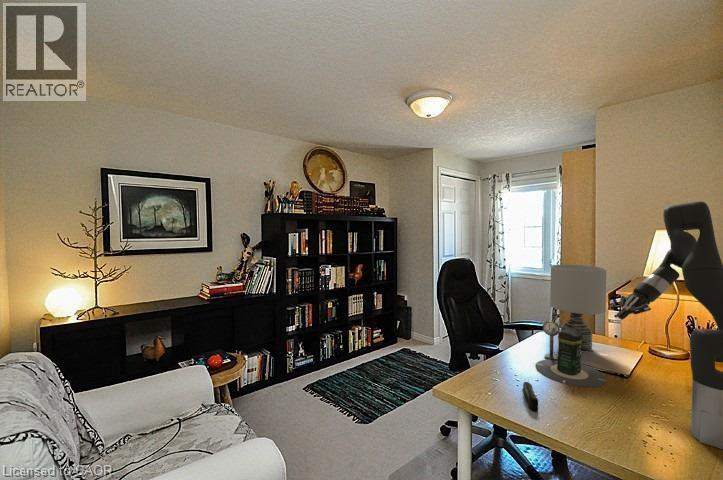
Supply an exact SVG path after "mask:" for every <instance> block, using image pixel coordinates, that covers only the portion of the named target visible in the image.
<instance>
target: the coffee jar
mask: <svg viewBox="0 0 723 480" xmlns="http://www.w3.org/2000/svg"><path fill="white" fill-rule="evenodd" d="M557 340H558V346H557V347H558V349H557V350H558V351H557V355H558V362H557V370H558V371H560V372H562V373H564V374H568V375H577V374H579V373H580V372H581V364H582V352H581V343H582V334H581V332H579V331H578V330H574V329H570V328H569V329H565V330H562V331H561V330H560V331H559V333H558V334H557Z"/></svg>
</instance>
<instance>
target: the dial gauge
mask: <svg viewBox="0 0 723 480" xmlns="http://www.w3.org/2000/svg"><path fill="white" fill-rule="evenodd" d="M542 330H543V332H544V333H545V334H546V335H548V336H549V352H546V353H545V355H544V359H545V360H547V359H552V360H557V359H558V354H554V339H555V338H554V337H555V336H558V333H559V332H560V331H561V326H560V325H559V324H558V323H557V322H556V321H553V320H547V321H545V322H544V323H543V324H542Z"/></svg>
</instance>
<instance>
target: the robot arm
mask: <svg viewBox="0 0 723 480" xmlns="http://www.w3.org/2000/svg"><path fill="white" fill-rule="evenodd" d="M663 222H664V227H665V231H666V233H667V236H668V238H669V241H670V249H668V251H667V252H666V254H665V256H664V258H663V260H662V262H661V263H660V265H659V266H658V267H657V268H656V269H655V270H653V271H652V273H650V274H649V275H648V276H646V277H645V278H644V279H643V280H641V282H639V284H638V285H637V286H636V287H634V288H633V292H632V293H630V294H629V295H627V296H625V295H621V296H620V301H619V307H621V310H620V311H618V312H617V313H616V317H617V318H618V319H620V320H622V321H623V320H624V319H626V318H627V317H629V315H631V314H634V315H639V314H642V313H646V312H649V311H651V310H652V308H651V307H650V306H649V305H650V304H651V303H653V302H655V301H656V300H657V299H658V298H659V297H660V296H662V295H663V294H664V293H665V292H666V291H667V290H668V288H669V287H670V286H672V284H675V282H676V281H677V280H678V279H679V278H680V273H679V272H678V271H677V270H676V269H675V268H673V267H672V265H674V266H676V267H678V268H680V269H681V272H682V276H683V280H684V284H685V285H684V286H685V287H686V289H687V291H688V293H690V294H691V296H692V297H694V299H696V301H697V302H699V303H700V304H701V305H702V306H703V307H704V308H705V309H706V310H707V311H708V312H709V313H710V315H711V316H712V318H713V320H714V323H715V324H716V327H717V329H709V328H708V329H706V328H696V329H694V330H692V332H691V334H690V336H689V337H690V338H689V352H690V370H691V377H692V380H691V407H690V434H691V436H692V437H694V438H695V439H697V440H698V441H699V443H701V444H703V445H708V446H710V447H714V448H717V449H720V450H723V371H722V370H720V369H717V368H716V363H722V364H723V262H722V260H721V259H722V258H721V256H720V253H719V249H718V246H717V241H716V237H715V231H714V225H713V219H712V214H711V210H710V208H709V205H708V204H707V203H706V202H705V201H691V202H687V203H686V202H685V203H679V204H673V205H669V206H666V207H665V208H664V210H663ZM692 230H699V235H698V238H697V239H696V238H695V236H694V235H693V234H692V233H690V232H688V231H692Z"/></svg>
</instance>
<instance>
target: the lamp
mask: <svg viewBox="0 0 723 480" xmlns="http://www.w3.org/2000/svg"><path fill="white" fill-rule="evenodd" d="M549 290H550V296H549V297H550V298H549V299H550V300H549V301H550V302H549V305H550V307H551V308H552V309H555V310H557V311H562V312H567V313H569V318H568V320H567V321H565V322H564V323H563V324H562V325H561V326H560V331H562V330H565V329H569V328H570V329H574V330H578V331H579V332H581V334H582V343H581V351H588V352H591V351H592V350H593V331H592V329H591V327H590V326H588V324H586V323H585V322H584V318H583V317H584V315H601V314H602V315H603V314H605V313H606V309H607V308H606V306H607V305H606V302H607V268H606V267H601V266H595V265H583V264H552V265H550V289H549ZM590 350H591V351H590Z"/></svg>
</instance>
